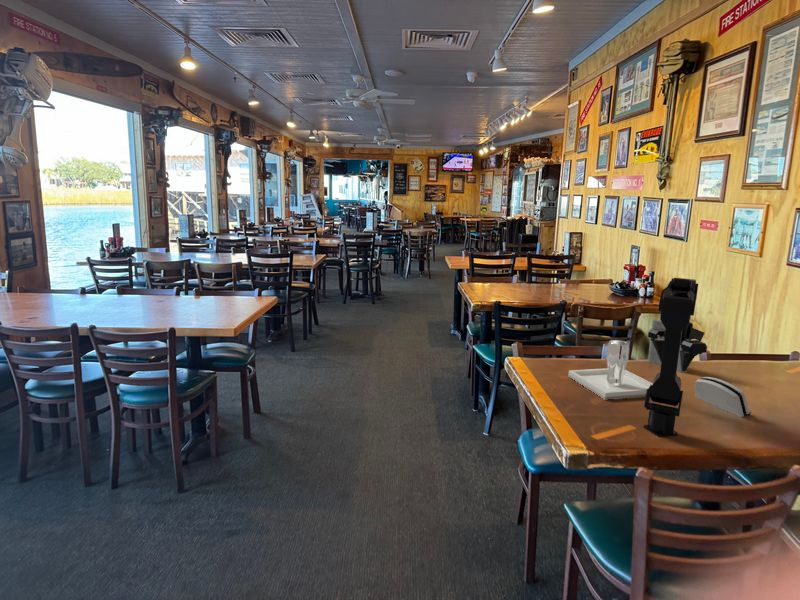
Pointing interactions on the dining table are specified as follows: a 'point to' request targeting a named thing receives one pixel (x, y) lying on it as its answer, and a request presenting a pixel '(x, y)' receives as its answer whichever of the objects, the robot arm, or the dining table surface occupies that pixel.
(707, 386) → the grey half-round block
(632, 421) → the dining table surface
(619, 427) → the dining table surface
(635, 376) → the serving tray
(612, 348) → the beer glass
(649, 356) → the hip flask
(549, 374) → the dining table surface
